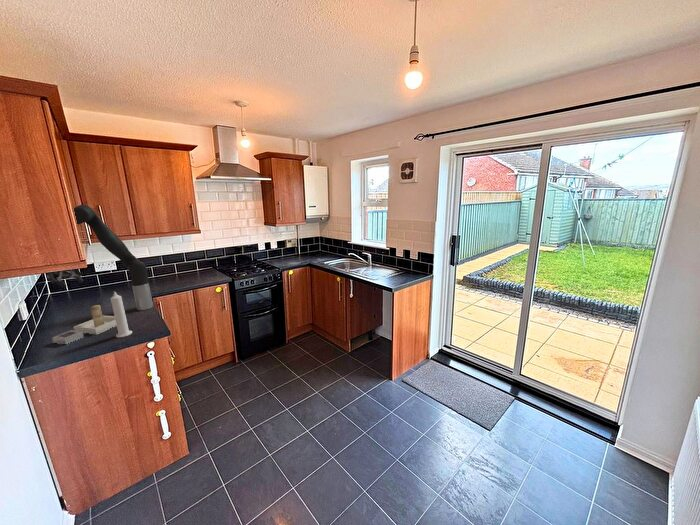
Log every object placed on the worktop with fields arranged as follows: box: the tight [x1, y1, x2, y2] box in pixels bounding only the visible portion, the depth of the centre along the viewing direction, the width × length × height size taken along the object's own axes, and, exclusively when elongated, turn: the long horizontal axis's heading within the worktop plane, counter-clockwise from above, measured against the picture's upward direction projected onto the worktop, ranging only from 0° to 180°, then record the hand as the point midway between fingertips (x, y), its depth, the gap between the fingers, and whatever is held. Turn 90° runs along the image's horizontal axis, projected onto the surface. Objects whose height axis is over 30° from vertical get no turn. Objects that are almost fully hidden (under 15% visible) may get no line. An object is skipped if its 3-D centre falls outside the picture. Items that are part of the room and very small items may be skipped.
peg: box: [89, 304, 104, 327], centre depth 165 cm, size 4×4×12 cm
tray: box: [73, 314, 117, 335], centre depth 166 cm, size 16×16×4 cm
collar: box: [52, 329, 85, 345], centre depth 151 cm, size 8×8×4 cm
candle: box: [110, 291, 133, 339], centre depth 153 cm, size 7×7×25 cm
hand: (74, 284), depth 163 cm, fingers open, 8 cm apart
